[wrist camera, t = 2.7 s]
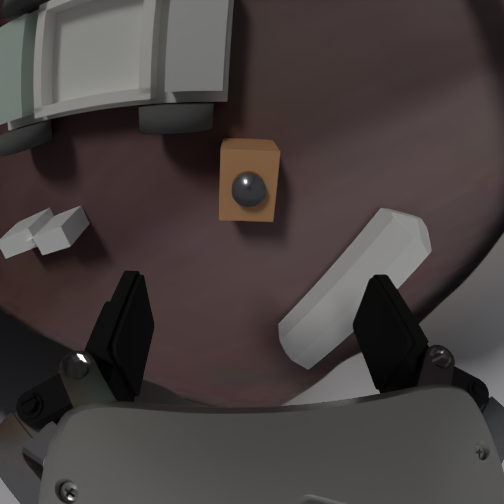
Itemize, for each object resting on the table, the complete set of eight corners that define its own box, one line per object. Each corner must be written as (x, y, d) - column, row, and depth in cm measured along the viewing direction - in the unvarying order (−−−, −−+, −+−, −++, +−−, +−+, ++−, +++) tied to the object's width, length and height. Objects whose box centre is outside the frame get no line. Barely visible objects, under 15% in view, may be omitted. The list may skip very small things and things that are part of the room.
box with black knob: (223, 137, 25) (219, 151, 20) (272, 140, 25) (282, 154, 20) (221, 197, 28) (218, 225, 23) (267, 199, 28) (274, 227, 23)
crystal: (396, 194, 24) (258, 348, 35) (446, 243, 23) (301, 381, 34) (390, 190, 31) (277, 321, 41) (431, 229, 30) (313, 350, 40)
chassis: (238, -41, 15) (239, -69, 10) (226, 123, 24) (223, 133, 19) (20, 8, 13) (-13, 4, 8) (18, 144, 22) (-15, 161, 17)
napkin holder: (13, 239, 29) (-9, 263, 24) (16, 164, 24) (-14, 181, 19) (100, 280, 33) (84, 310, 28) (116, 204, 28) (95, 230, 23)
